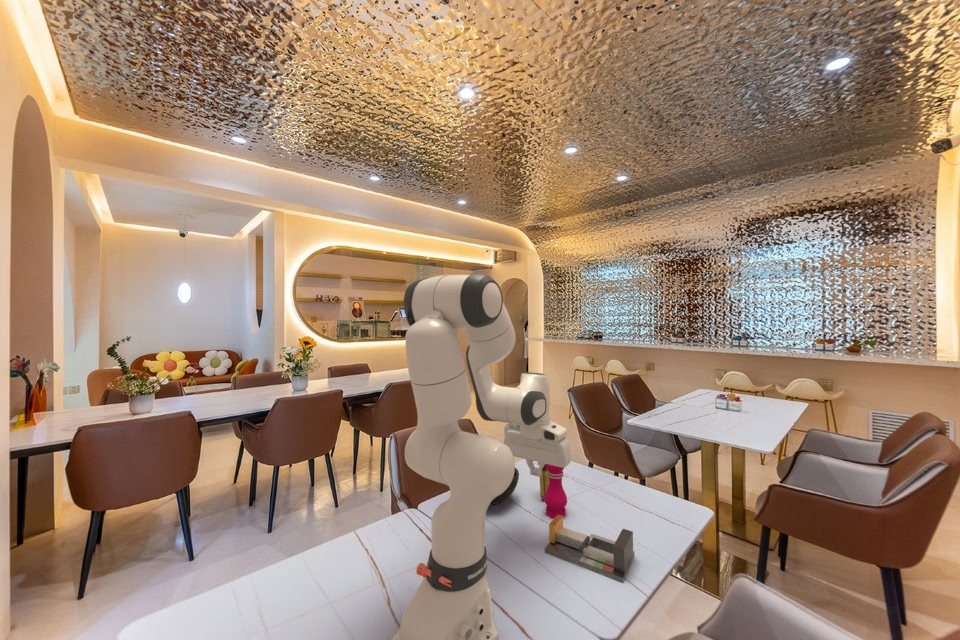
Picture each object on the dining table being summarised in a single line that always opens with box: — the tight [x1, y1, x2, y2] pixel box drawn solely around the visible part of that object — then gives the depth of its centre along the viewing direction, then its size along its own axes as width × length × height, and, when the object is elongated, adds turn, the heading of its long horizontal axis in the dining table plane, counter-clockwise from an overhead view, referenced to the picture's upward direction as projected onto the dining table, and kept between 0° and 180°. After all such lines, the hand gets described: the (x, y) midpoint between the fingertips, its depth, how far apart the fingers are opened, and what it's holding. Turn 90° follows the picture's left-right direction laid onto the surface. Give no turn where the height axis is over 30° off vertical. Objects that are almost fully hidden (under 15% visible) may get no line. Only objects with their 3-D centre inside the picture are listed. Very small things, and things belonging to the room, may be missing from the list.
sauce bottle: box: [538, 464, 549, 501], centre depth 127 cm, size 7×6×20 cm
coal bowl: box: [489, 467, 520, 505], centre depth 126 cm, size 20×20×19 cm
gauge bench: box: [544, 528, 635, 583], centre depth 97 cm, size 12×20×7 cm, turn 55°
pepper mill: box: [543, 464, 568, 519], centre depth 117 cm, size 7×7×20 cm
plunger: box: [548, 515, 593, 552], centre depth 98 cm, size 9×11×5 cm
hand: (535, 475), depth 106 cm, fingers closed
